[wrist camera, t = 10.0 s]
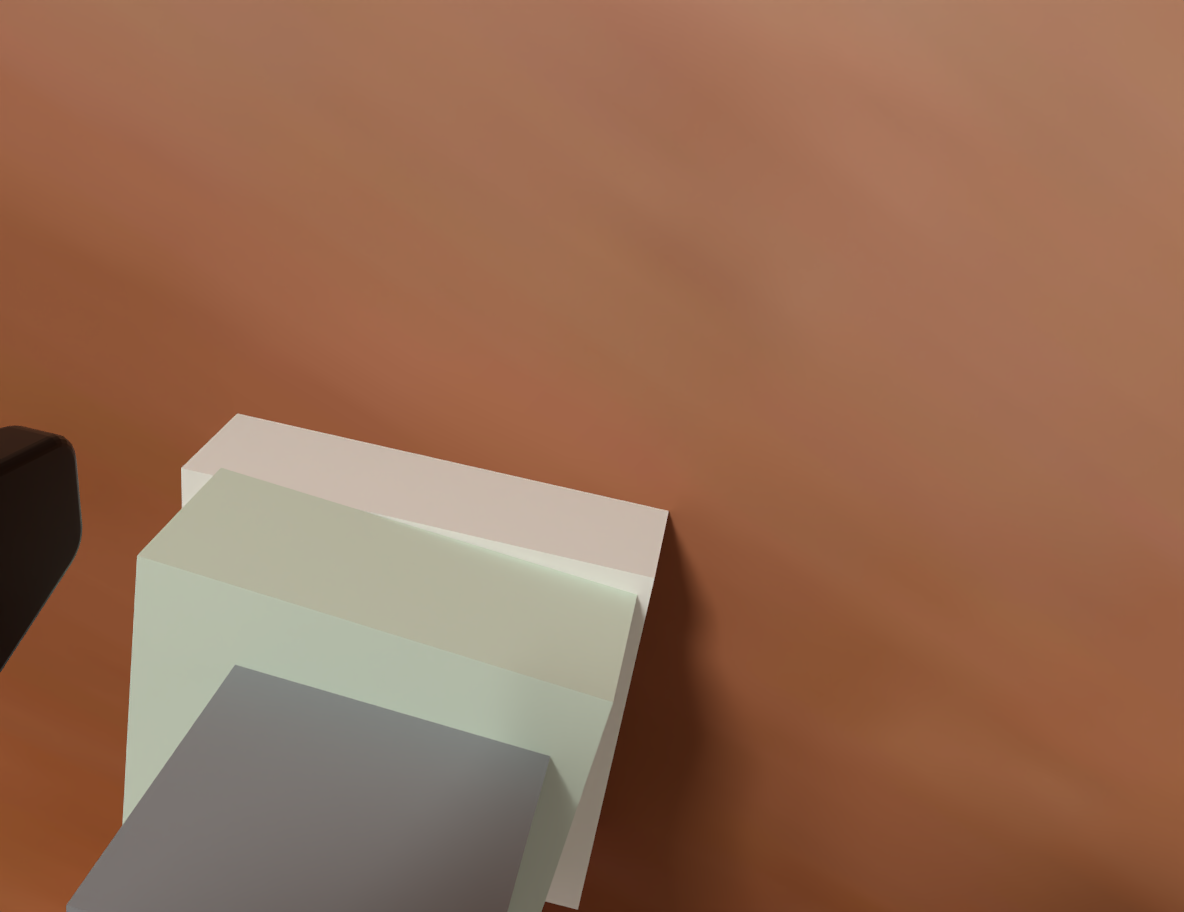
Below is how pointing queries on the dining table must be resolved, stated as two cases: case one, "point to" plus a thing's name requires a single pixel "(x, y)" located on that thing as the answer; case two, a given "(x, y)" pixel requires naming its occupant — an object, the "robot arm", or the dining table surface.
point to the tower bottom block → (476, 516)
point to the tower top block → (374, 636)
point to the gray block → (320, 812)
